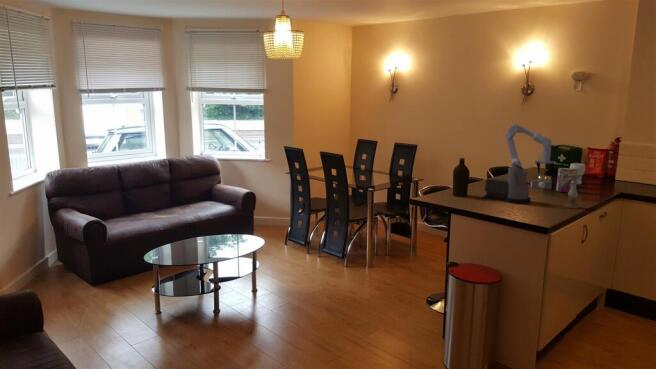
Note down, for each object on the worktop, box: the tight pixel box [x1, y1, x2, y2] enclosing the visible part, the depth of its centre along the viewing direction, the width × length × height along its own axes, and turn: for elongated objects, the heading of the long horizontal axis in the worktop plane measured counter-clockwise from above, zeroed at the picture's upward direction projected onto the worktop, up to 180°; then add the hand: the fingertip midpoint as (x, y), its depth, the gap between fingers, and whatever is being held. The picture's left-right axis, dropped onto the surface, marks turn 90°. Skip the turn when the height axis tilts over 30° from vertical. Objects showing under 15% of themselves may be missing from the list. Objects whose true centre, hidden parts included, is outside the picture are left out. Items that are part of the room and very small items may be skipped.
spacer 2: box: [544, 175, 552, 182], centre depth 388 cm, size 5×5×5 cm
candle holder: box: [563, 173, 583, 210], centre depth 305 cm, size 9×9×20 cm
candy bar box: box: [555, 167, 577, 193], centre depth 353 cm, size 11×5×16 cm, turn 84°
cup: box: [569, 162, 586, 185], centre depth 386 cm, size 11×11×15 cm
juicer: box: [481, 162, 533, 206], centre depth 322 cm, size 30×16×24 cm, turn 57°
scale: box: [530, 179, 553, 190], centre depth 371 cm, size 13×17×5 cm
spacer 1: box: [537, 175, 546, 181], centre depth 370 cm, size 5×5×5 cm
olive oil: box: [452, 157, 471, 198], centre depth 334 cm, size 11×11×25 cm
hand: (544, 173), depth 376 cm, fingers open, 7 cm apart
